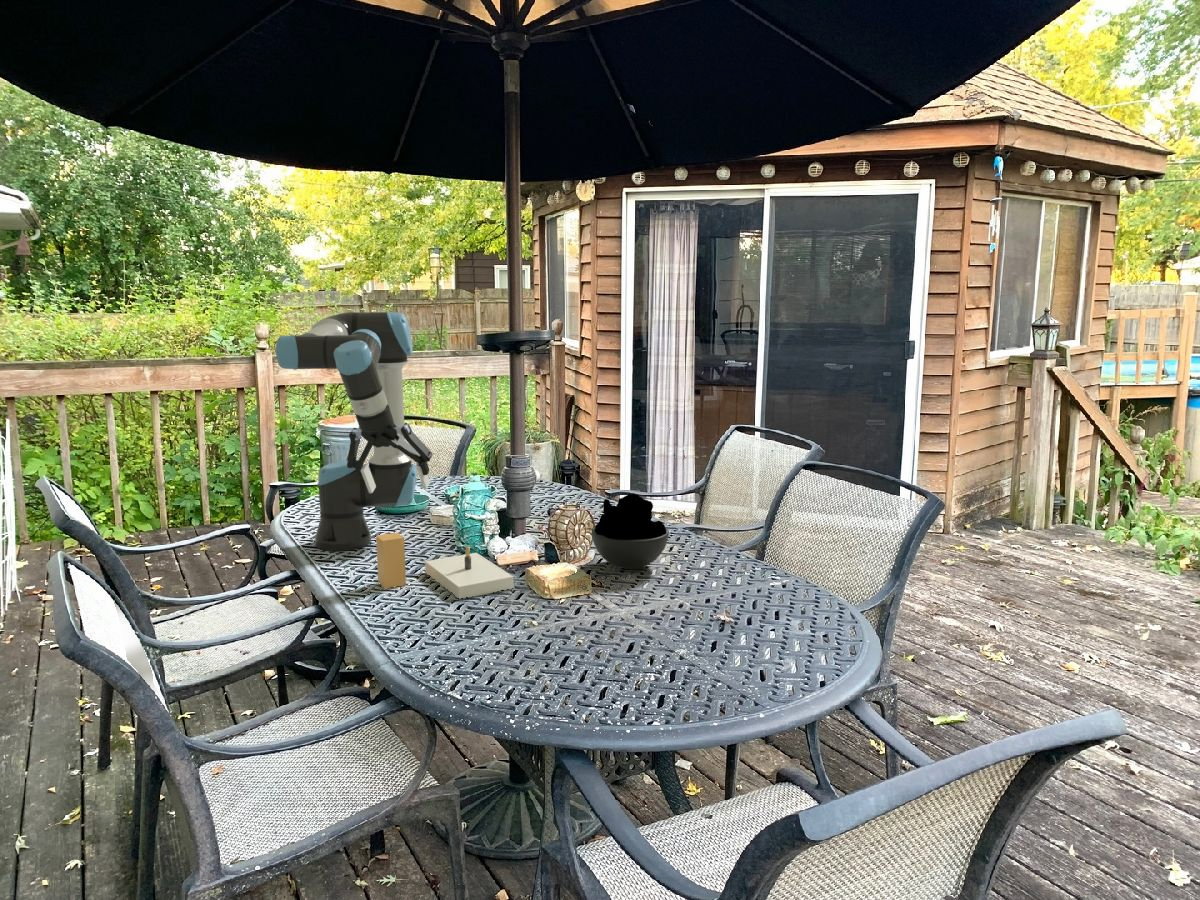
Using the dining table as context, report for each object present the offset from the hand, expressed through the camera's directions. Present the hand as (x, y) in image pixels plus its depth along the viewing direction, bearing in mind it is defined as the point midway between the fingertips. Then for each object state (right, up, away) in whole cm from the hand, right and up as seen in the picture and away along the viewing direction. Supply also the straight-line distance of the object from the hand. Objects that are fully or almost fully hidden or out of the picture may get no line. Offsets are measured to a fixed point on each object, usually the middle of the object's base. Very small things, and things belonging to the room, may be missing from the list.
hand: (399, 488), depth 193 cm
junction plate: (+14, -23, +11) cm, 29 cm away
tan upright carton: (-4, -24, +7) cm, 25 cm away
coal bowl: (+55, -22, +21) cm, 63 cm away
